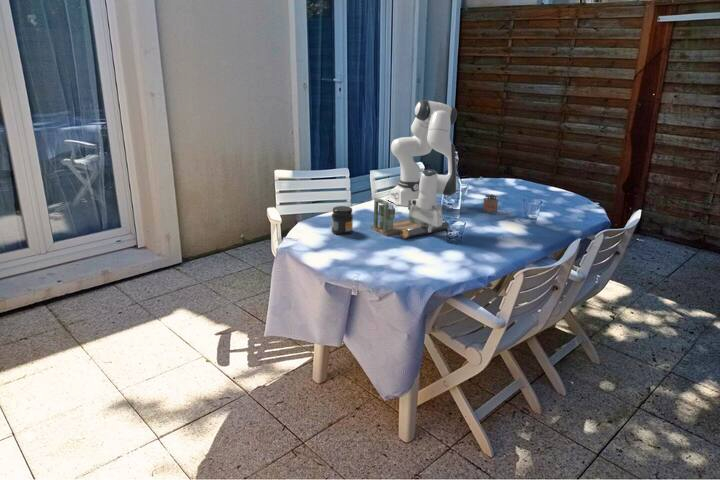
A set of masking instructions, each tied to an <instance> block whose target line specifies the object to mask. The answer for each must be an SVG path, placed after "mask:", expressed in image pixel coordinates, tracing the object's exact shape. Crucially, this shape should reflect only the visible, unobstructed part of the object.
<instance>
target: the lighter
mask: <svg viewBox="0 0 720 480" xmlns="http://www.w3.org/2000/svg"><path fill="white" fill-rule="evenodd" d="M498 203H499V198H497V194H488V193H487V194H485V197H484V198H483V206H482V207H483V208H482V212H483V213H496V214H497V213H498Z"/></svg>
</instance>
